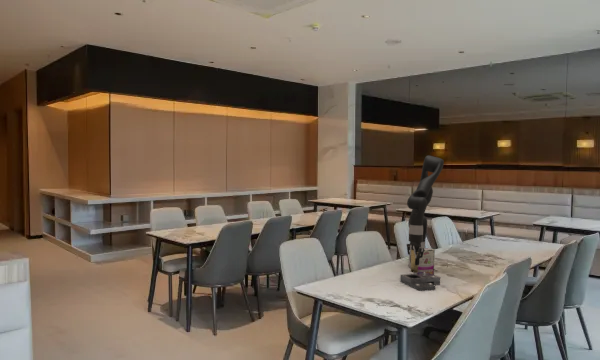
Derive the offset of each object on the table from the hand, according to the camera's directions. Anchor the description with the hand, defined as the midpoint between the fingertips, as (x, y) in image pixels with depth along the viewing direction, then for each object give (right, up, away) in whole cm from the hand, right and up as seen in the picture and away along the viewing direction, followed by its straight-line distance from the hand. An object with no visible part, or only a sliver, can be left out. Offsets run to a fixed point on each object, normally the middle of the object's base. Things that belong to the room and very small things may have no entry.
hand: (414, 263), depth 244 cm
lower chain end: (+1, -11, -3) cm, 12 cm away
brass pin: (0, -4, 0) cm, 4 cm away
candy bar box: (+9, -11, +17) cm, 22 cm away
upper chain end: (+4, -11, +2) cm, 12 cm away
